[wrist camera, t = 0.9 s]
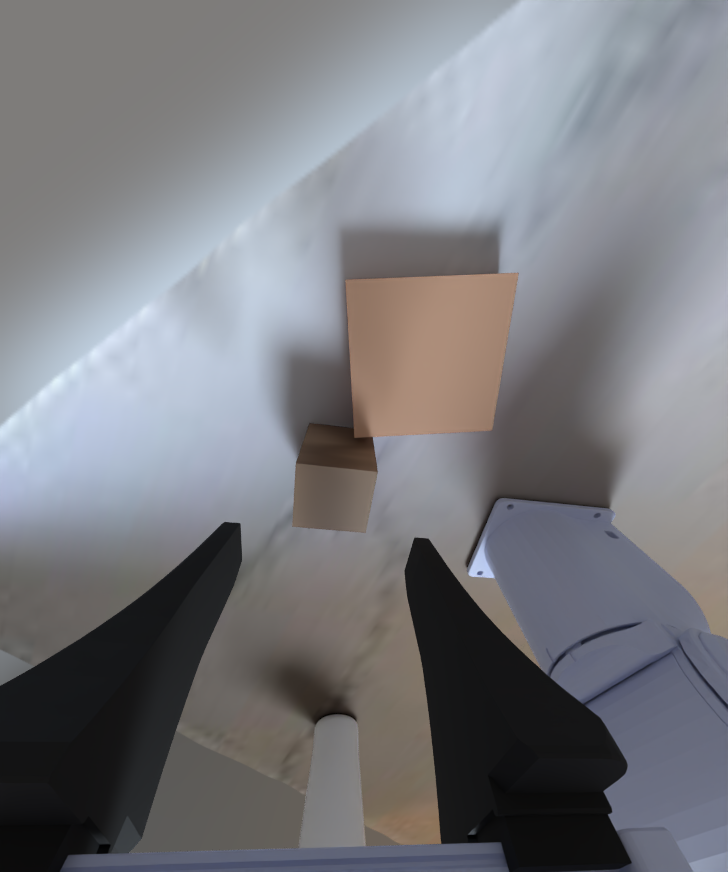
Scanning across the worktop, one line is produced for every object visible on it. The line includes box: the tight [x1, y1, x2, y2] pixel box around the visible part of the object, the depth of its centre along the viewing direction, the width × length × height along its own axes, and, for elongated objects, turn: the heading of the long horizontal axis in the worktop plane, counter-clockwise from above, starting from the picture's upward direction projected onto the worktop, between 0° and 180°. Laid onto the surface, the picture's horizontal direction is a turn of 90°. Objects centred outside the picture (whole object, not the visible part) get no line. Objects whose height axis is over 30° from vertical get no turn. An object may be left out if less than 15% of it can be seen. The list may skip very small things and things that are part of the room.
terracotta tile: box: [345, 273, 519, 438], centre depth 16 cm, size 8×8×2 cm
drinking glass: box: [298, 714, 366, 848], centre depth 29 cm, size 7×7×15 cm
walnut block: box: [292, 423, 378, 533], centre depth 17 cm, size 4×4×5 cm
